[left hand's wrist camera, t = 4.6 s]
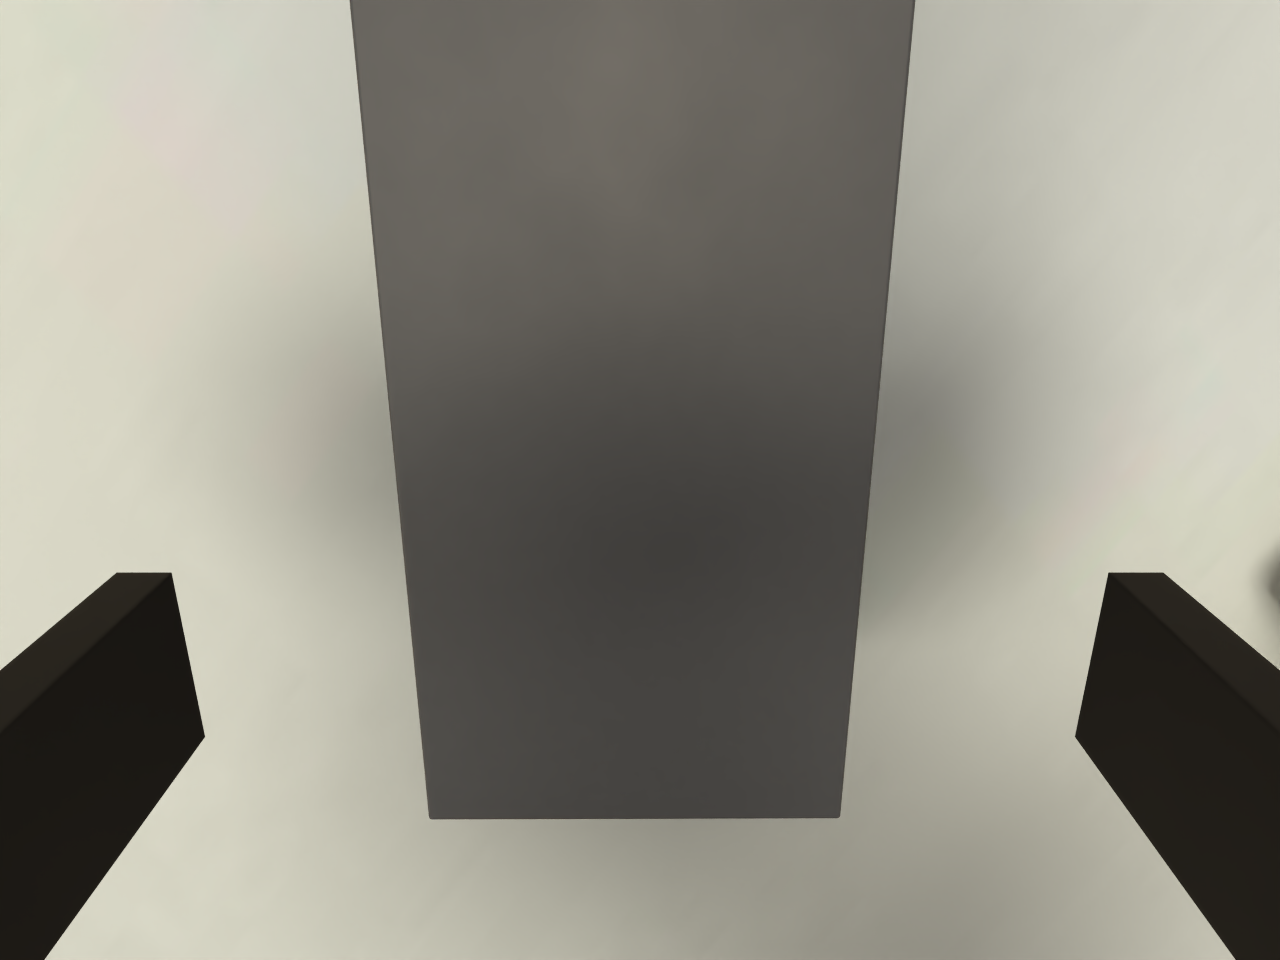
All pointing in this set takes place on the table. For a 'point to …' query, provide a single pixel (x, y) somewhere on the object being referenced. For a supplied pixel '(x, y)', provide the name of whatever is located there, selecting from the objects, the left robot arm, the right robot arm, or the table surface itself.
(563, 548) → the beam
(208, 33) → the table surface
